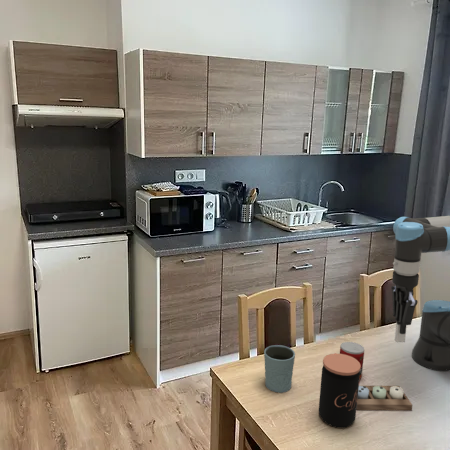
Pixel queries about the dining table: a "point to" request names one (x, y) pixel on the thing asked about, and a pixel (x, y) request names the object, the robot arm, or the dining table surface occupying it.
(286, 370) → the teal cup
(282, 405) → the dining table surface
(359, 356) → the canned food
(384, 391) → the two-pip button
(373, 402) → the button board
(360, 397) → the three-pip button
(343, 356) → the coffee jar
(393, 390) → the one-pip button
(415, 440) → the dining table surface
